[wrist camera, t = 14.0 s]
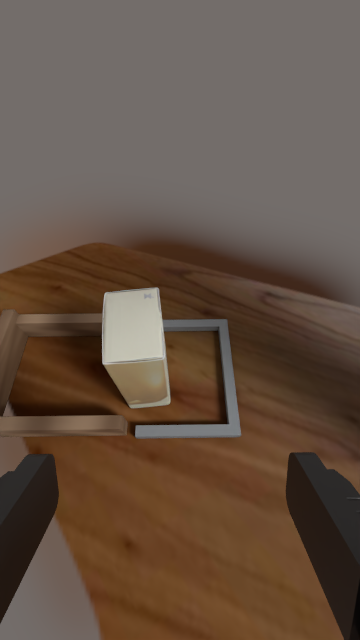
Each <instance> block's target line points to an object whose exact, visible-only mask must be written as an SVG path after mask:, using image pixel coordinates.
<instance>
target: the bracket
mask: <svg viewBox="0 0 360 640" xmlns="http://www.w3.org/2000/svg"><path fill="white" fill-rule="evenodd" d="M162 321H163V330H164V331H218V332H219V342H220V352H221V362H222V372H223V383H224V393H225V403H226V413H227V423H228V424H212V425H136V431H135V437H136V438H208V437H240V436H241V431H240V423H239V415H238V406H237V398H236V390H235V381H234V373H233V365H232V357H231V348H230V340H229V332H228V324H227V319H200V320H162Z"/></svg>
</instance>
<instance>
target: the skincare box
mask: <svg viewBox="0 0 360 640" xmlns="http://www.w3.org/2000/svg"><path fill="white" fill-rule="evenodd" d="M102 320H103V322H102V363H103V365H104V367H105V368H106V370H107V372H108V373H109V375H110V376H111V378H112V380H113V381H114V383H115V384H116V386H117V387H118V389H119V391H120V392H121V394H122V395H123V397H124V399H125V400H126V402H127V403H128V405H129V407H130V408H142V407H152V406H161V405H168V404H170V387H169V376H168V367H167V359H166V348H165V339H164V330H163V321H162V313H161V304H160V296H159V289H158V288H145V289H134V290H123V291H115V292H106V293H105V295H104V303H103V319H102Z"/></svg>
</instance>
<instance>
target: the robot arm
mask: <svg viewBox="0 0 360 640" xmlns="http://www.w3.org/2000/svg"><path fill="white" fill-rule="evenodd" d="M58 497H59V491H58V483H57V475H56V467H55V460H54V456H53V455H52V454H29V455H27V456H26V457H25V458H24V459H23V460H22V462H21V463H20V464H19V465H18V467H17V468H16V469H15V471H11V472H10V471H9V472H7V473H6V474H4V475H3V476H2V477H1V478H0V623H1V621H2V619H3V617H4V615H5V613H6V611H7V609H8V607H9V605H10V603H11V601H12V598H13V597H14V595H15V593H16V591H17V589H18V587H19V585H20V583H21V581H22V578H23V576H24V574H25V572H26V570H27V568H28V566H29V564H30V562H31V560H32V558H33V556H34V554H35V552H36V550H37V548H38V546H39V544H40V542H41V540H42V538H43V536H44V534H45V532H46V529H47V528H48V525H49V523H50V522H51V520H52V517H53V515H54V513H55V511H56V508H57V504H58ZM286 499H287V505H288V508H289V512H290V514H291V516H292V519H293V521H294V523H295V526H296V528H297V530H298V533H299V535H300V537H301V540H302V542H303V544H304V547H305V549H306V551H307V554H308V556H309V558H310V561H311V563H312V565H313V568H314V570H315V572H316V575H317V577H318V579H319V582H320V584H321V586H322V589H323V591H324V593H325V596H326V598H327V600H328V603H329V605H330V607H331V610H332V612H333V614H334V617H335V619H336V621H337V623H338V626H339V628H340V630H341V633H342V635H343V637H344V640H360V495H359V493H358V492H357V491H356V489H355V488H354V487H353V485H352V484H351V483H350V482H349V481H348V480H347V479H346V478H344V477H343V476H342V475H340V474H339V473H338V472H337V471H335V470H334V469H326V467H325V466H324V465H323V463H322V462H321V460H320V459H319V457H318V456H317V455H316V454H315V453H313V452H303V453H290V455H289V460H288V471H287V483H286Z"/></svg>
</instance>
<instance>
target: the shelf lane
mask: <svg viewBox="0 0 360 640" xmlns="http://www.w3.org/2000/svg"><path fill="white" fill-rule="evenodd" d="M102 319H103V313H98V314H18V313H17V312H16V311H15V310H14V309H11V310H3V312H2V314H1V317H0V437H28V436H107V435H127V424H128V422H127V421H126V420H125V418H124V417H123V416H122V415H97V416H18V417H3V413H4V410H5V407H6V404H7V401H8V398H9V395H10V392H11V389H12V386H13V383H14V379H15V376H16V373H17V370H18V367H19V364H20V361H21V358H22V355H23V352H24V348H25V345H26V342H27V339H28V337H43V336H102V322H103V320H102Z"/></svg>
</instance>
